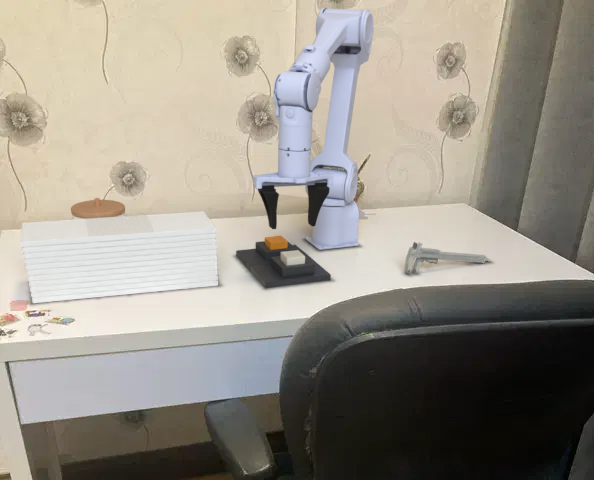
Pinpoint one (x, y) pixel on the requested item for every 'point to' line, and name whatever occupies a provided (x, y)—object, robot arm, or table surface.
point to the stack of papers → (119, 255)
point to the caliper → (436, 257)
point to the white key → (292, 257)
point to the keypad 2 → (289, 273)
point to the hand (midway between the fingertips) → (292, 226)
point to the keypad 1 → (263, 254)
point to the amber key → (276, 242)
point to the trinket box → (97, 209)
